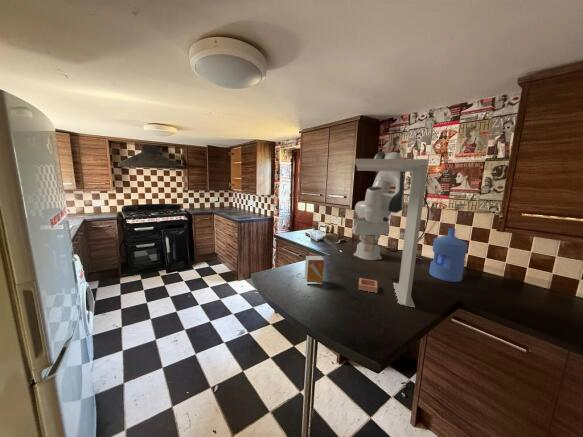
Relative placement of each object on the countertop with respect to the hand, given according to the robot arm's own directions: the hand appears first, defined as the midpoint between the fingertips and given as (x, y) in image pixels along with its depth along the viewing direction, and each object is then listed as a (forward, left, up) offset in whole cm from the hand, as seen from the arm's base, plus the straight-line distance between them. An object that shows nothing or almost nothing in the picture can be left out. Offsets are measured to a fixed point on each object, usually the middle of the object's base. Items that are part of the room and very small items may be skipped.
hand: (369, 242), depth 123 cm
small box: (+20, -25, -19) cm, 38 cm away
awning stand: (+17, +5, -19) cm, 26 cm away
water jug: (-18, +43, -19) cm, 50 cm away
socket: (+16, +1, -19) cm, 25 cm away
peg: (0, 0, -5) cm, 5 cm away
